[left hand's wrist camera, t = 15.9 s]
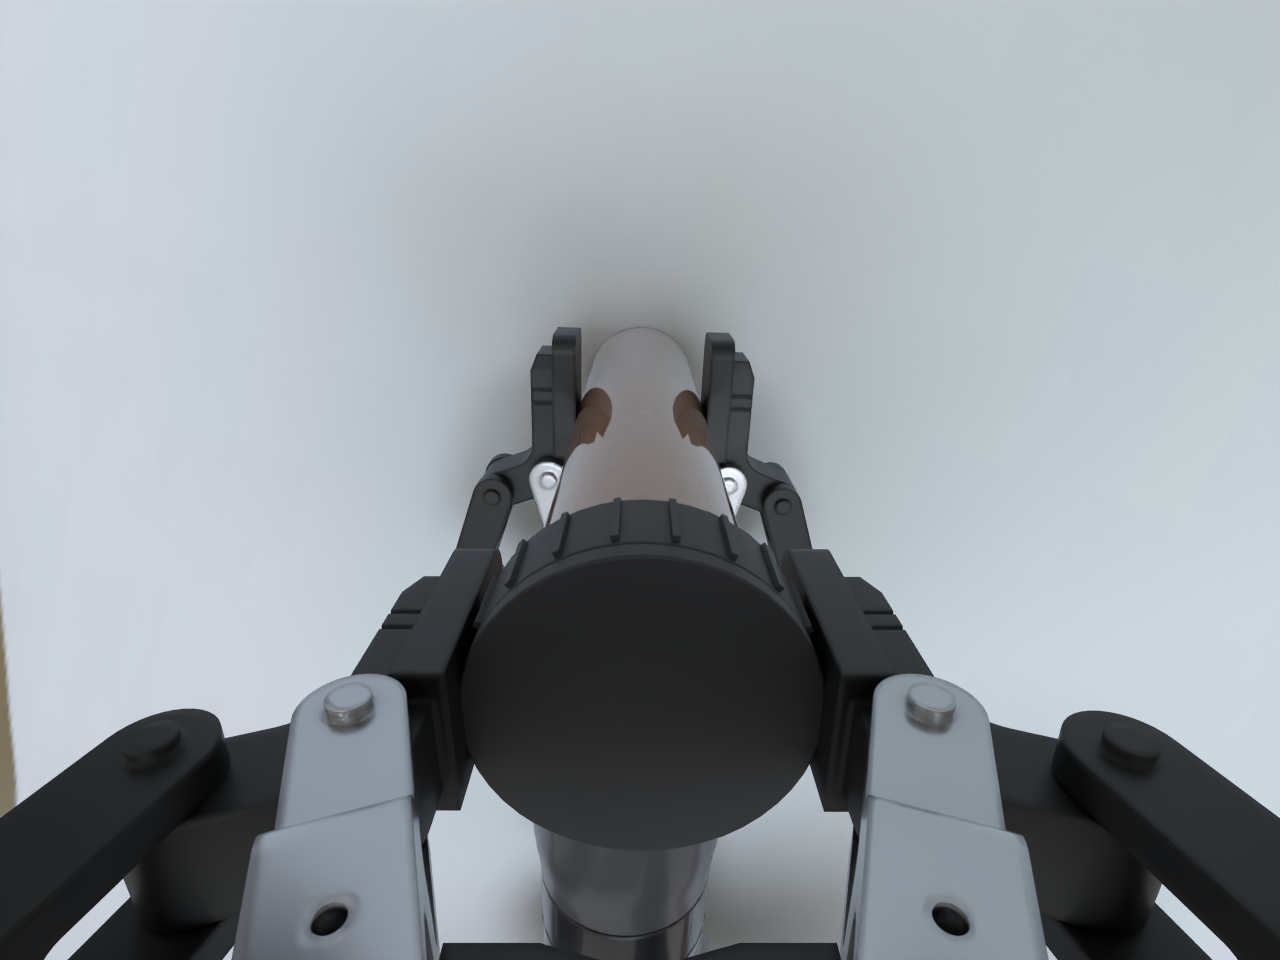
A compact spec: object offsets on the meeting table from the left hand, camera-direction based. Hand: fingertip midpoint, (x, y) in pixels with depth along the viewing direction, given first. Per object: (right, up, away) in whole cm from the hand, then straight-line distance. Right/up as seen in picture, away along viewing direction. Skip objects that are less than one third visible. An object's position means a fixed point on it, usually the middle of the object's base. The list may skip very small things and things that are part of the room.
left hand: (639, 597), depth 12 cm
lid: (0, -1, -2) cm, 3 cm away
